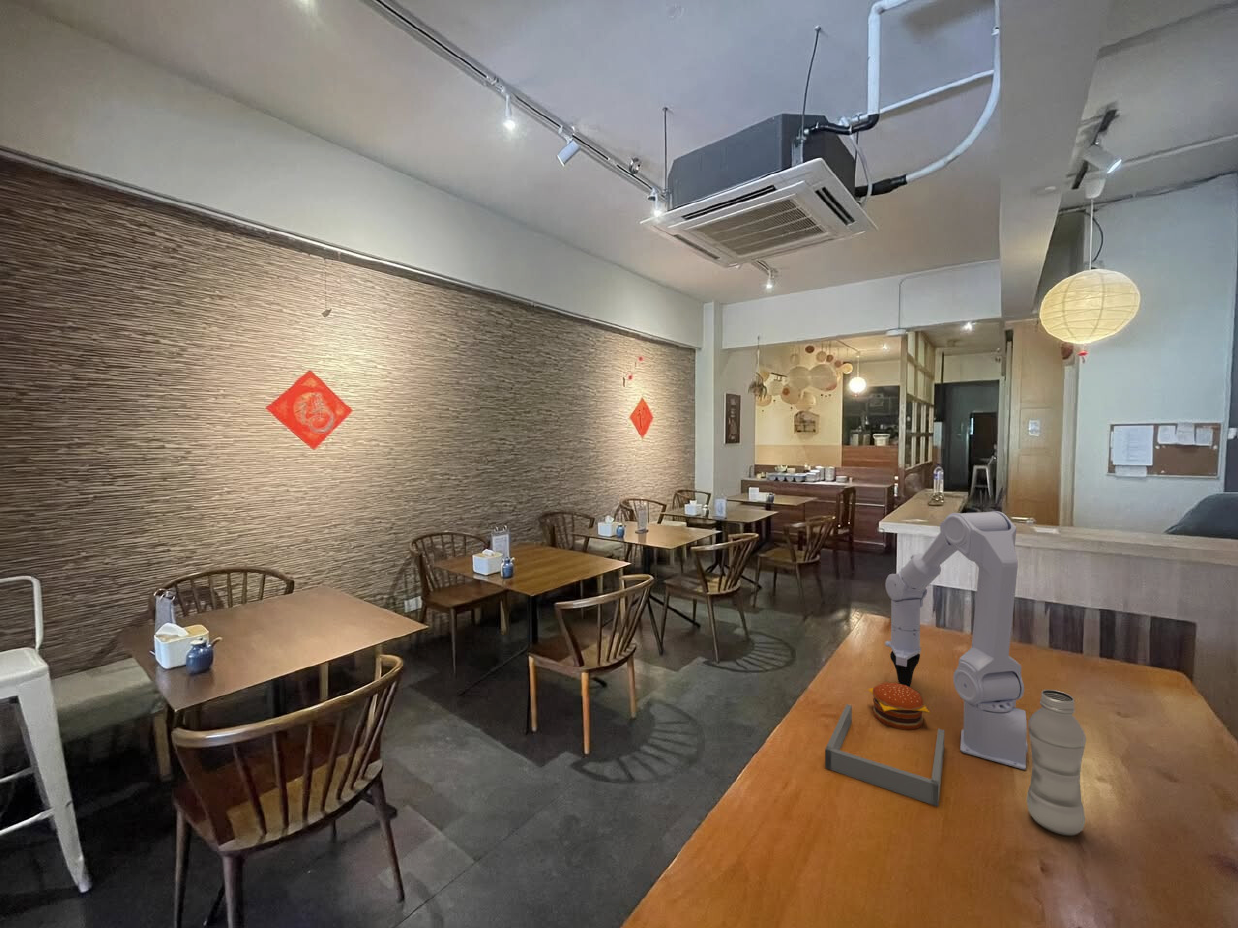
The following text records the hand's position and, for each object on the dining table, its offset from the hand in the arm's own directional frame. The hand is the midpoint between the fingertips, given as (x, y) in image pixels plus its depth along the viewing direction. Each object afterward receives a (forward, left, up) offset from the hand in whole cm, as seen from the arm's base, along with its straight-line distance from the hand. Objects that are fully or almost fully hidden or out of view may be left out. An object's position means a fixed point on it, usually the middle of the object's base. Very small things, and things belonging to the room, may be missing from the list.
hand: (904, 684), depth 116 cm
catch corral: (0, +29, -2) cm, 29 cm away
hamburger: (0, +13, -2) cm, 13 cm away
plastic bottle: (-23, +33, -2) cm, 40 cm away
